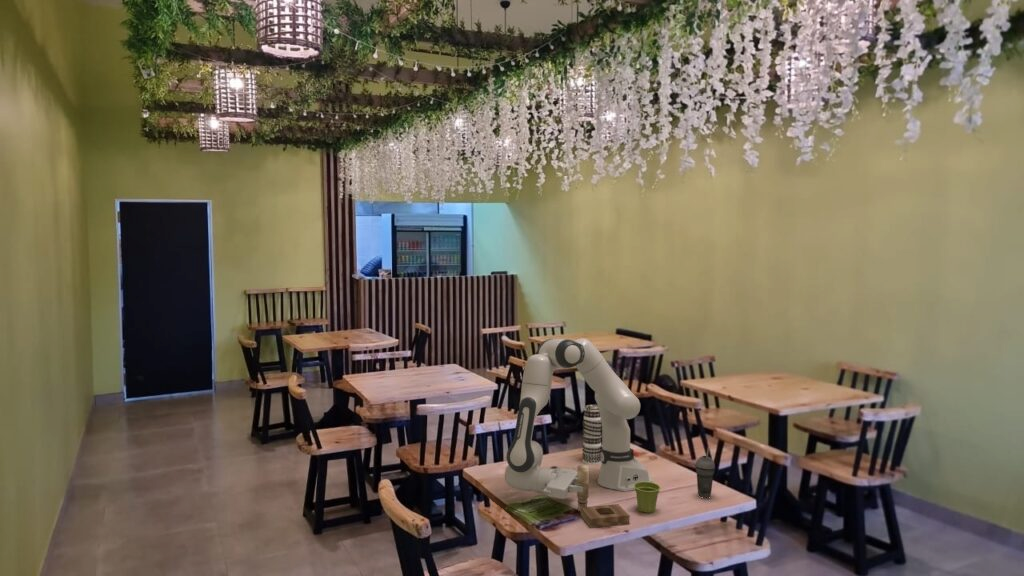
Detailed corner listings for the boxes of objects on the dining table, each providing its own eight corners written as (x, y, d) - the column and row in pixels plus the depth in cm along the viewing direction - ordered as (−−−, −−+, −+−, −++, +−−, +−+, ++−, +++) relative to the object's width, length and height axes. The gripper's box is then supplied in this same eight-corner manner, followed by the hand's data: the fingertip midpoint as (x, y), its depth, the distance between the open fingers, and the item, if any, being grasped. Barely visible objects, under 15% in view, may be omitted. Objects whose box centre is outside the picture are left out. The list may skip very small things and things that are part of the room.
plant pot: (664, 513, 227) (665, 489, 226) (641, 516, 224) (641, 492, 223) (651, 503, 236) (652, 480, 235) (628, 506, 233) (629, 482, 232)
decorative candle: (605, 464, 278) (606, 407, 277) (585, 465, 277) (586, 408, 275) (598, 457, 287) (599, 402, 286) (579, 458, 286) (579, 403, 284)
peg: (585, 508, 231) (586, 464, 230) (589, 512, 227) (590, 468, 226) (575, 508, 230) (576, 465, 229) (579, 513, 226) (579, 469, 225)
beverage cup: (700, 491, 248) (701, 440, 247) (717, 496, 243) (719, 445, 241) (690, 496, 243) (692, 444, 241) (708, 501, 237) (709, 449, 236)
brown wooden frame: (618, 512, 227) (618, 504, 227) (629, 524, 218) (629, 515, 217) (580, 515, 224) (580, 507, 224) (590, 527, 214) (590, 519, 214)
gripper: (539, 482, 222) (578, 487, 218) (555, 464, 242) (591, 468, 237) (539, 500, 223) (578, 505, 218) (555, 480, 242) (591, 485, 237)
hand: (585, 486), depth 228 cm, fingers closed on peg, 4 cm apart
